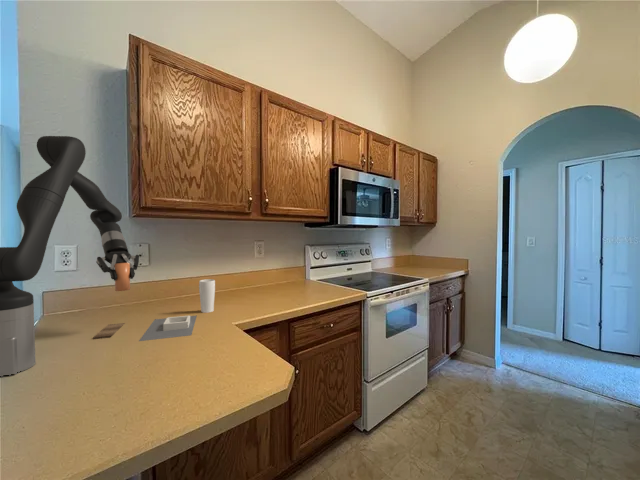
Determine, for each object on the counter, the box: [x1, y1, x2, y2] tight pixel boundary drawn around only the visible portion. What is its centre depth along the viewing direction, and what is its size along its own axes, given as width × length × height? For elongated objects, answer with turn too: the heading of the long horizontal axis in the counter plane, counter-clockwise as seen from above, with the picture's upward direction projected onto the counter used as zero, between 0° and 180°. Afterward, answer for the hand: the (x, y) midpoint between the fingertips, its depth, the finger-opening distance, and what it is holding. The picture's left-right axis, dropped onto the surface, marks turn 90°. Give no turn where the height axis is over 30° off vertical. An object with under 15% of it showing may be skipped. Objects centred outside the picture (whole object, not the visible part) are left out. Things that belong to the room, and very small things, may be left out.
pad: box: [93, 322, 126, 340], centre depth 106 cm, size 14×14×1 cm
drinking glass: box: [198, 278, 216, 314], centre depth 128 cm, size 7×7×15 cm
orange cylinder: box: [114, 263, 131, 292], centre depth 105 cm, size 5×5×10 cm
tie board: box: [138, 315, 197, 342], centre depth 107 cm, size 24×16×4 cm, turn 20°
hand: (124, 278), depth 104 cm, fingers closed on orange cylinder, 4 cm apart
